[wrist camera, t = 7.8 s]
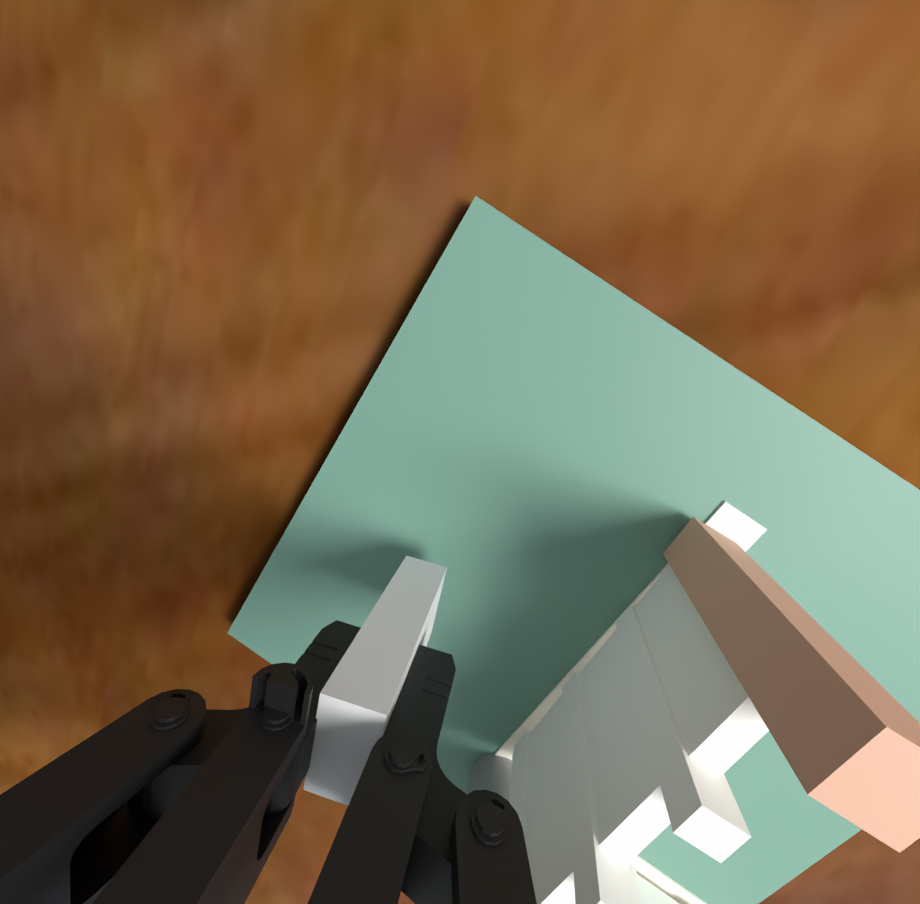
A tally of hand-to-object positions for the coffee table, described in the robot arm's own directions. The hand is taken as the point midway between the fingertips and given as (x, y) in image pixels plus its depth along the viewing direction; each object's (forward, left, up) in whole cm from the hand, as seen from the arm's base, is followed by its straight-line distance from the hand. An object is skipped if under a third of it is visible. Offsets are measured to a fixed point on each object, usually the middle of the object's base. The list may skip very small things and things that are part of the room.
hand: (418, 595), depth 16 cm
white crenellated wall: (+7, +2, -1) cm, 7 cm away
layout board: (+6, +2, -2) cm, 7 cm away
